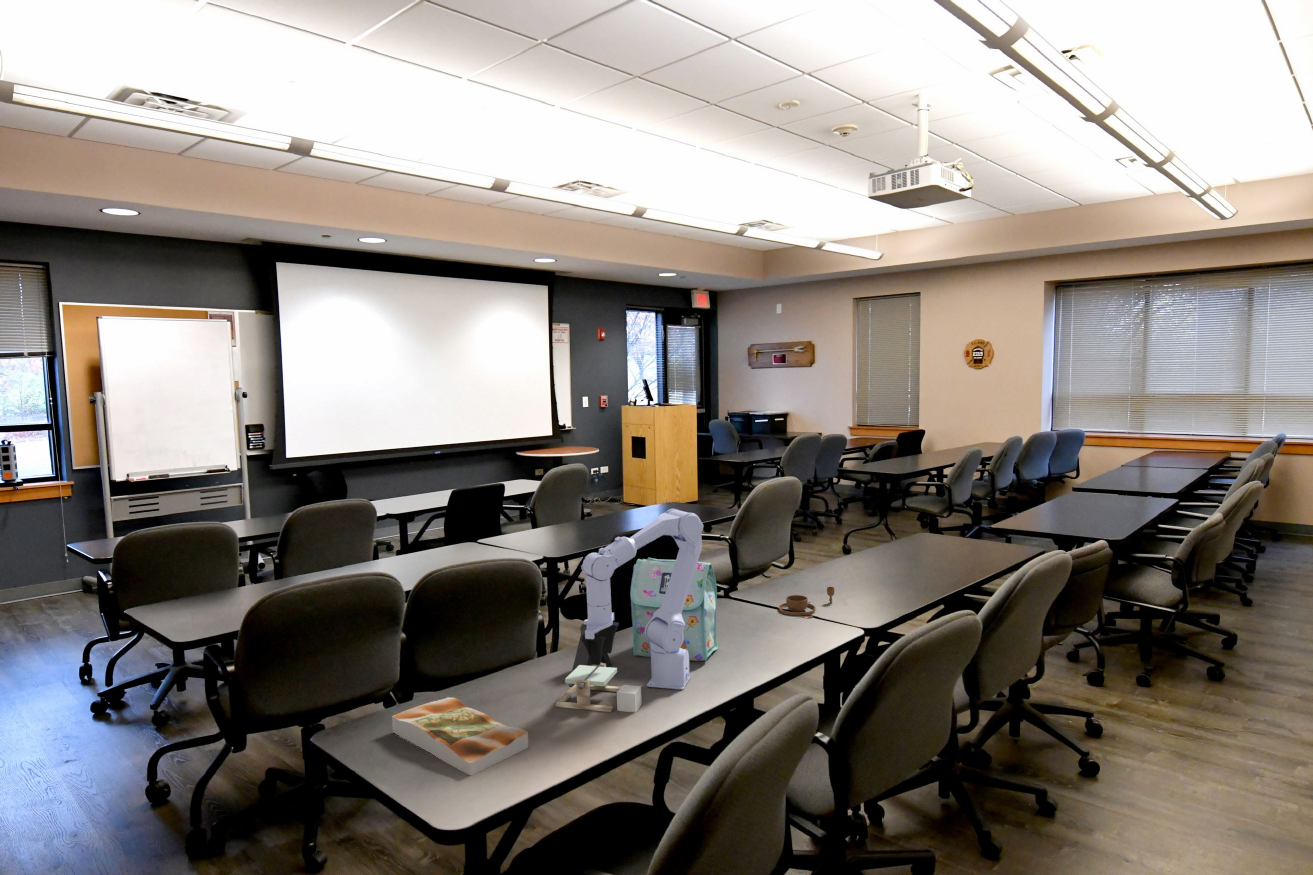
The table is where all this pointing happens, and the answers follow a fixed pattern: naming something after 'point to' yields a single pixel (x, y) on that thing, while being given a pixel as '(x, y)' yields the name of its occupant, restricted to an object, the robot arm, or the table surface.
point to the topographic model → (459, 734)
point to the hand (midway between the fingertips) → (601, 658)
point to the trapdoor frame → (585, 695)
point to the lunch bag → (696, 611)
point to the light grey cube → (629, 698)
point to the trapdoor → (591, 675)
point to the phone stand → (582, 653)
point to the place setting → (801, 604)
